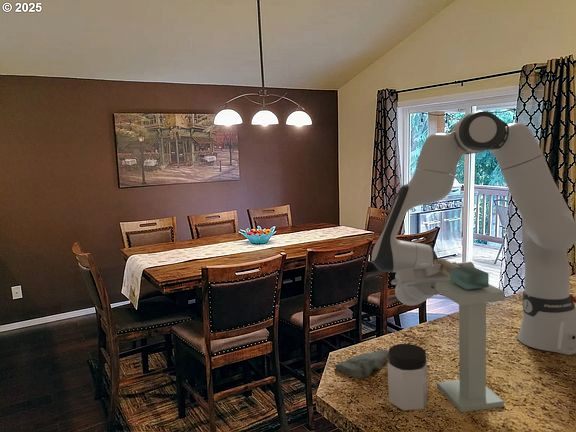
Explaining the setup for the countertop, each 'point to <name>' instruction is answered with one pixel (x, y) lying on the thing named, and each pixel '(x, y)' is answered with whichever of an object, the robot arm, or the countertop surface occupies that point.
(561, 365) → the countertop surface
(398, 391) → the jar
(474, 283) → the mallet
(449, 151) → the robot arm
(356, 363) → the stone
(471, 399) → the shelf stand
